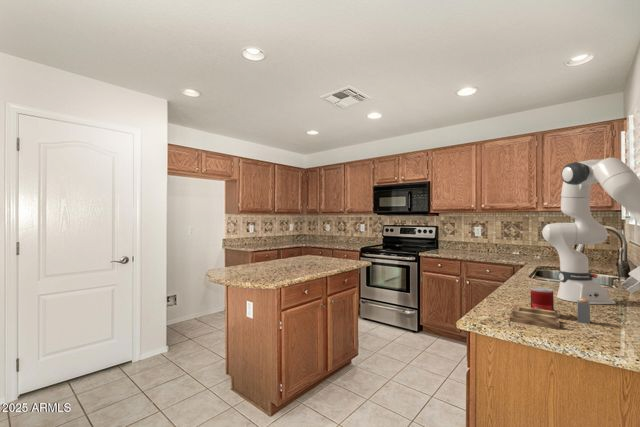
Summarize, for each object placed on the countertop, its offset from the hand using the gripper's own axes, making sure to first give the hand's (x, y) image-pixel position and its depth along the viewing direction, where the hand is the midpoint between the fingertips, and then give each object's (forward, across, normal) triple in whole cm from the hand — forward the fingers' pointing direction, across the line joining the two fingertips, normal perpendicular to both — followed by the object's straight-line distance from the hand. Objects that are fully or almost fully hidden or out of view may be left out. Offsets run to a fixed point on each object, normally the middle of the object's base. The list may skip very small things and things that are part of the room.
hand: (625, 288), depth 114 cm
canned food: (+29, -2, -7) cm, 30 cm away
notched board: (+30, +10, -9) cm, 34 cm away
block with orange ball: (+19, 0, +2) cm, 19 cm away
